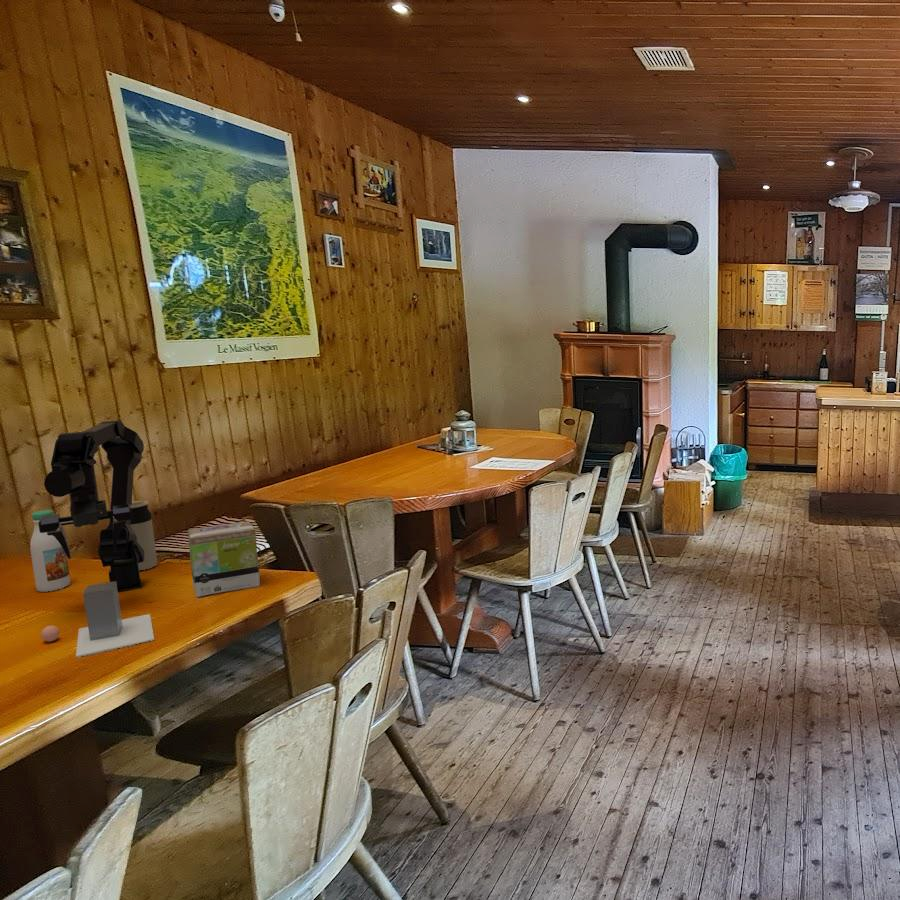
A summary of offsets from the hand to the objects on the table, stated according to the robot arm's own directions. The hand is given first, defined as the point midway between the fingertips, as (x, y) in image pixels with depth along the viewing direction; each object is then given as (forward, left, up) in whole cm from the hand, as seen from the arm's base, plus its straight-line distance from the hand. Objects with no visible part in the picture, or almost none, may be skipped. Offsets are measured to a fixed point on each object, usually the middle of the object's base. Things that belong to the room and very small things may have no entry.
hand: (92, 554), depth 160 cm
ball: (+9, +15, -13) cm, 22 cm away
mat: (-3, +20, -13) cm, 24 cm away
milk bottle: (+11, -26, -13) cm, 31 cm away
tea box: (-28, +2, -13) cm, 31 cm away
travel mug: (-10, -30, -13) cm, 34 cm away
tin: (-1, +19, -13) cm, 23 cm away
